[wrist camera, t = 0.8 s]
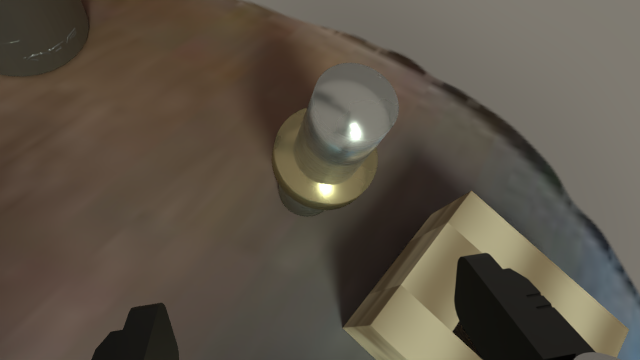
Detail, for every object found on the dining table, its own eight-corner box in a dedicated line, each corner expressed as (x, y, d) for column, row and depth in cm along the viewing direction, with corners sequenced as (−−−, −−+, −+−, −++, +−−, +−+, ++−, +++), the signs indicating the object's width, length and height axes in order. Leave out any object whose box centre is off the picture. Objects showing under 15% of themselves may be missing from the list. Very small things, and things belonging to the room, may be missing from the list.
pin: (245, 189, 33) (260, 94, 20) (302, 135, 36) (348, 22, 23) (309, 249, 32) (367, 191, 20) (362, 190, 35) (444, 105, 22)
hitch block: (342, 327, 31) (370, 325, 25) (430, 214, 36) (471, 190, 30) (489, 467, 30) (554, 498, 24) (560, 331, 34) (629, 329, 29)
